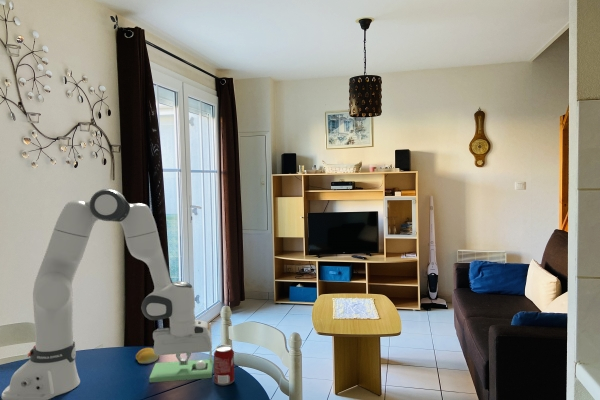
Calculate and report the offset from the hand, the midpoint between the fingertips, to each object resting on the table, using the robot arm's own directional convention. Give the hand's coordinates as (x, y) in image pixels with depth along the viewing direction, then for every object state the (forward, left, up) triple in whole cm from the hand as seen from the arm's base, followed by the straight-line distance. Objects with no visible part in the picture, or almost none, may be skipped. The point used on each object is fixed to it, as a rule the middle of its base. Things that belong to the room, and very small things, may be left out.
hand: (183, 364), depth 156 cm
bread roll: (-15, +14, -3) cm, 21 cm away
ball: (+5, 0, -3) cm, 6 cm away
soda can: (+15, -10, -3) cm, 18 cm away
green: (0, 0, -3) cm, 3 cm away
